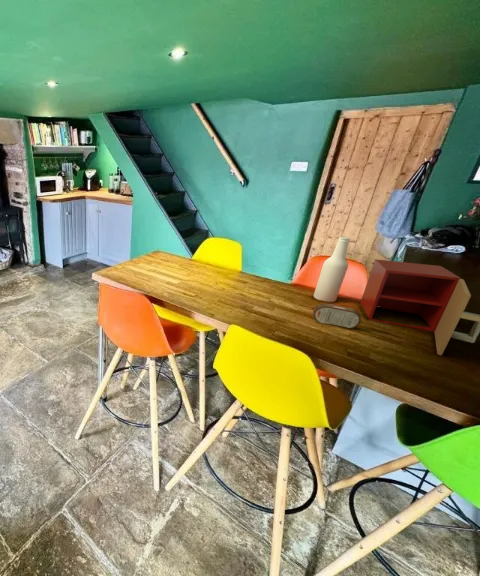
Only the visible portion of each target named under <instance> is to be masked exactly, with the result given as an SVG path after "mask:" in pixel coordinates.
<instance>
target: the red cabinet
mask: <svg viewBox="0 0 480 576" xmlns="http://www.w3.org/2000/svg"><path fill="white" fill-rule="evenodd" d="M367 279H368V280H367V282H366V285H365V287H364V291H363V294H362V297H361V299H360V302H359V305H360V306H362V308H363V310H364V312H365V314H366V316H367V320H369V321H375V322H379V323H385V324H390V325H394V326H395V325H396V326H400V327H406V328H412V329H416V330H420V331H421V330H422V331H425V332H426V331H427V332H432V333H434V332H435V330H436V328H437V326H438V324H439V322H440V319H441V317H442V315H443V313H444V311H445V309H446V307H447V304H448V302H449V300H450V298H451V296H452V294H453V292H454V289H455V287H456V285H457V283H458V281H459V279H461V277H460V276H458V275H456V273H455V274H454V273H453V272H452V271H450V270H449V269H447V268H445V267H443V266H442V265H436V264H435V265H434V264H424V263H415V262H405V261H397V260H396V261H394V260H386V259H385V260H384V259H374V262H373V264H372V267H371V270H370V274H369V277H368V278H367ZM377 306H380V307H377ZM376 308H378V309H385V310H390V311H395V312H401V313H408V314H411V315H412V314H413V315H419V316H420V317H421V318H422V319H423V321H424V322H425V323H426V324H427V325H428V326H418V325H417V326H416V325H409V324H404V323H399V322H394V321H388V320H383V319H377V318H376V319H375V318H373V316H374V313H375V311H376Z"/></svg>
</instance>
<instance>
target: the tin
mask: <svg viewBox="0 0 480 576" xmlns="http://www.w3.org/2000/svg"><path fill="white" fill-rule="evenodd" d="M312 316H313V318H314V320H315V321H316V322H317V323H321V324H326V325H328V324H329V325H333V326H339V327H342V328H343V327H344V328H347V329H355V328H357V327H358V326H359V325H360V324H361V322H362V317H361V314H360V312H359V311H358V310H356V309H355V308H352V307H346V306H342V305H338V304H332V303H328V302H327V303H320V304H317V305H316V306H314V308H313V310H312Z"/></svg>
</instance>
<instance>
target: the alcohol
mask: <svg viewBox="0 0 480 576" xmlns="http://www.w3.org/2000/svg"><path fill="white" fill-rule="evenodd" d="M350 241H351V237H349V236H339V237H338V240H337V243H336V245H335V247H334V250H333V252H332V255H331V256H329V257H328V258H327V259H325V261H324V262H323V264H322V268H321V271H320V274H319V277H318V280H317V283H316V286H315V290H314V293H313V298H314V299H316V300H318V301H323V302H327V303H328V302H329V303H333V302H336V301H337V299H338V296H339V293H340V291H341V289H342V288H341V287H342V285H343V282H344V279H345V276H346V273H347V271H348V268H349V263H348V260H347V258H346V256H347V252H348V248H349V244H350Z"/></svg>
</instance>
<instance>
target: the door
mask: <svg viewBox="0 0 480 576" xmlns="http://www.w3.org/2000/svg"><path fill="white" fill-rule="evenodd" d="M471 297H472V294H471V292H470V290H469V288H468V286H467V284H466V281H465V280H464V279H463V278H460V279H459V281H458V283H457V285H456V287H455V289H454V292H453V294H452V296H451V298H450V300H449V302H448V304H447V307H446V309H445V311H444V313H443V315H442V317H441V319H440V322H439V324H438V326H437V328H436V330H435V332H433V333H434V338H435V340H434V341H435V346H436V354H437V355H438V356H443V354H444V352H445V350H446V348H447V346H448V344H449V342H450V339H455V340H458V341H463V342H467V343H471V344H472V343H473V344H474V343H476V341H477V339H478V337H479V335H480V314H478V313H474V312H473V313H472V312H468V311H465V309H466V307H467V305H468V303H469V301H470V299H471ZM461 319H464V320H468V321H473V322H474V323H473V324H472V327H471V329H470V331H469V333H463V332H460V331H455V330H456V327H457V325H458V323H459V322H460V320H461Z"/></svg>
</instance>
